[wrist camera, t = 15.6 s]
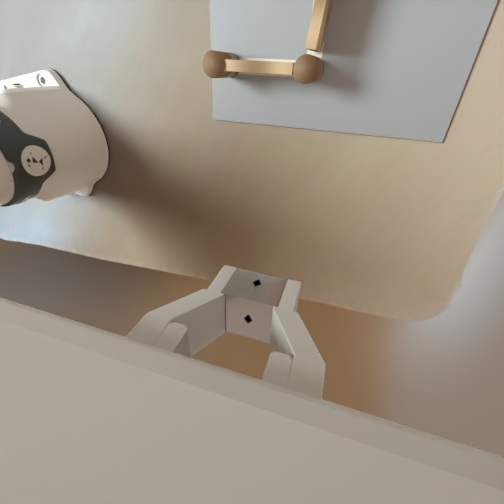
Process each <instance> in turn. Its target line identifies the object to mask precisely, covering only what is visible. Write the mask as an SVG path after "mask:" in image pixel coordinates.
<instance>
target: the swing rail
mask: <svg viewBox="0 0 504 504" xmlns="http://www.w3.org/2000/svg"><path fill="white" fill-rule="evenodd" d="M332 3H333V0H315V1H314V6H313V11H312V16H311V21H310V26H309V31H308V36H307V40H306V45H305V48H306V49H308V50H311V51H315V52H321V50H322V46H323V42H324V37H325V33H326V29H327V24H328V20H329V16H330V12H331V7H332Z"/></svg>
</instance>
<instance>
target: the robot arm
mask: <svg viewBox="0 0 504 504" xmlns="http://www.w3.org/2000/svg"><path fill="white" fill-rule="evenodd" d="M108 159H109V154H108V146H107V142H106V138H105V135H104V133H103V130H102V128H101V126H100V124H99V122H98V121H97V119H96V117H95V116H94V114H93V113H92V112H91V110H90V109H89V108H88V107H87V106H86V105H85V104H84V103H83V102H82V101H81V100H80V99H79V98H78V97H77V96H75V95H74V94H73V93H72V92H71V91H70V90H69V89H68V88H67V86H66V85H65V84H64V82H63V81H62V79H61V78H60V77H59V75H58V74H57V73H56V72H55V71H54V70H52V69H45V70H40V71H36V72H32V73H28V74H24V75H20V76H17V77H13V78H9V79H5V80H1V81H0V206H10V205H13V204H19V203H22V202H25V201H26V200H28V199H30V198H33V197H34V198H37V199H41V200H42V201H49V200H52V199H55V198H59V197H62V196H65V195H68V194H71V193H76V194H78V195H81V196H86V195H89V194H90V193H91V192H92V189H93V186H94V184H95V183H96V182H97V181H98V180H99V179H101V178H102V177H103V175H104V174H105V172H106V170H107V166H108ZM301 284H302V283H301V281H296V280H291V279H284V278H279V277H275V276H270V275H266V274H262V273H258V272H254V271H250V270H246V269H242V268H237V267H233V266H229V265H225V266H223V267H222V269H221V270H220V272H219V273H218V275H217V276H216V277H215V279H214V280H213V282H212V283H211V285H210V286H209V288H208V289H202V290H200V291H197V292H195V293H192V294H190V295H188V296H186V297H183V298H181V299H179V300H176V301H174V302H171V303H169V304H167V305H165V306H162V307H160V308H157V309H155V310H153V311H150V312H148V313H146V314H145V316H144V317H143V318H142V319H141V320H140V321H139V323H138V324H137V325H136V326H135V327H134V328H133V329H132V330H131V331H130V333H129V334H128V335H127V336H126V337H124V336H120V335H117V334H114V333H111V332H108V331H105V330H102V329H98V328H95V327H92V326H89V325H86V324H82V323H79V322H76V321H72V320H70V319H66V318H64V317H60V316H57V315H54V314H51V313H48V312H44V311H41V310H38V309H34V308H32V307H29V306H25V305H22V304H19V303H16V302H13V301H9V300H6V299H3V298H0V504H504V456H501V455H498V454H494V453H491V452H488V451H485V450H481V449H478V448H475V447H472V446H469V445H466V444H463V443H460V442H456V441H453V440H450V439H447V438H443V437H441V436H437V435H434V434H431V433H428V432H424V431H422V430H418V429H415V428H412V427H409V426H406V425H402V424H399V423H396V422H393V421H390V420H387V419H383V418H380V417H377V416H374V415H371V414H368V413H364V412H361V411H358V410H355V409H351V408H348V407H345V406H342V405H339V404H336V403H333V402H330V401H326V400H323V399H322V394H323V385H324V376H325V367H326V364H325V362H324V361H323V359H322V357H321V355H320V353H319V351H318V349H317V347H316V346H315V344H314V342H313V340H312V338H311V336H310V334H309V332H308V331H307V329H306V327H305V325H304V323H303V321H302V320H301V317H300V316H299V314H298V313H297V307H298V301H299V296H300V290H301ZM225 331H227V332H230V333H234V334H238V335H242V336H246V337H249V338H253V339H256V340H259V341H263V342H265V343H269V346H270V349H271V354H270V356H269V359H268V362H267V365H266V368H265V371H264V374H263V377H262V380H260V379H257V378H254V377H250V376H247V375H244V374H241V373H238V372H235V371H232V370H228V369H225V368H222V367H219V366H216V365H212V364H209V363H206V362H203V361H200V360H197V359H193V358H191V356H193V355H194V354H195V353H197V352H198V351H200V350H201V349H202V348H204V347H205V346H207V345H208V344H210V343H211V342H212V341H214V340H215V339H217V338H218V337H220V336H221V335H222V334H224V333H225Z"/></svg>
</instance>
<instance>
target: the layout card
mask: <svg viewBox="0 0 504 504" xmlns="http://www.w3.org/2000/svg"><path fill="white" fill-rule="evenodd" d="M314 1H315V0H210V33H211V50H215V51H222V52H229V53H234V54H236V55H237V56H238V58H239V60H251V61H272V62H293V63H295V62H296V60H297V59H298V58H299V57H300V56H302V55H304V54H310V55H313V56H316V57H318V58H320V59H321V60H322V62H323V65H324V71H323V74H322V76H321V78H320V79H319V80H317V81H316V82H313V83H308V84H301V83H299V82H298V81H297V80H296V79H295V77H294V75H286V74H268V73H251V72H239V73H238V75H237V76H235V77H231V78H212V101H213V120H223V121H233V122H243V123H253V124H263V125H273V126H283V127H293V128H302V129H312V130H322V131H332V132H342V133H352V134H362V135H372V136H382V137H392V138H402V139H412V140H421V141H431V142H441V143H442V142H443V140H444V137H445V134H446V132H447V129H448V127H449V124H450V122H451V119H452V117H453V114H454V111H455V109H456V106H457V104H458V101H459V99H460V96H461V94H462V91H463V88H464V86H465V83H466V81H467V78H468V76H469V73H470V71H471V68H472V65H473V63H474V60H475V58H476V55H477V53H478V50H479V48H480V45H481V42H482V40H483V37H484V35H485V32H486V30H487V27H488V25H489V22H490V19H491V17H492V14H493V12H494V9H495V7H496V4H497V2H498V0H333V3H332V7H331V12H330V16H329V20H328V24H327V29H326V33H325V37H324V42H323V46H322V50H321V52H315V51H311V50H308V49H306V48H305V45H306V40H307V36H308V31H309V26H310V21H311V16H312V11H313V6H314Z"/></svg>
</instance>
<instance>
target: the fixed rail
mask: <svg viewBox="0 0 504 504" xmlns="http://www.w3.org/2000/svg"><path fill="white" fill-rule="evenodd" d="M203 69H204V71H205V73H206V74H207V75H208V76H209V77H211V78H231V77H235V76H237V75H238V73H239V72H251V73H268V74H286V75H294V77H295V79H296V80H297V81H298V82H299V83H301V84H308V83H313V82H316V81H317V80H319V79H320V78H321V76H322V74H323V71H324V65H323V62H322V60H321V59H320V58H318V57H316V56H313V55H310V54H304V55H302V56H300V57H299V58H298V59H297V60H296V62H295V63H293V62H272V61H251V60H239V58H238V56H237V55H236V54H234V53H229V52H222V51H215V50H211V51H208V52H207V53H206V54H205V55H204V58H203Z"/></svg>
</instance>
